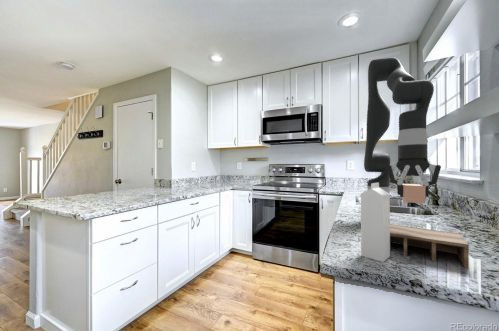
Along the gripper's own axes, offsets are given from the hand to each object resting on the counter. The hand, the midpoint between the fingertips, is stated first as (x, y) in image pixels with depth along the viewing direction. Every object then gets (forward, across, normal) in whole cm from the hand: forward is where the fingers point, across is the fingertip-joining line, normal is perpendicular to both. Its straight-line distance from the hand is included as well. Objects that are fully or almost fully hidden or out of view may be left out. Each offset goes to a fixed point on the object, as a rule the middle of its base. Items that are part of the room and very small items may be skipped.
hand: (412, 197), depth 69 cm
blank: (+1, 0, 0) cm, 1 cm away
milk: (+17, +9, +12) cm, 23 cm away
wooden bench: (+17, -2, 0) cm, 17 cm away
